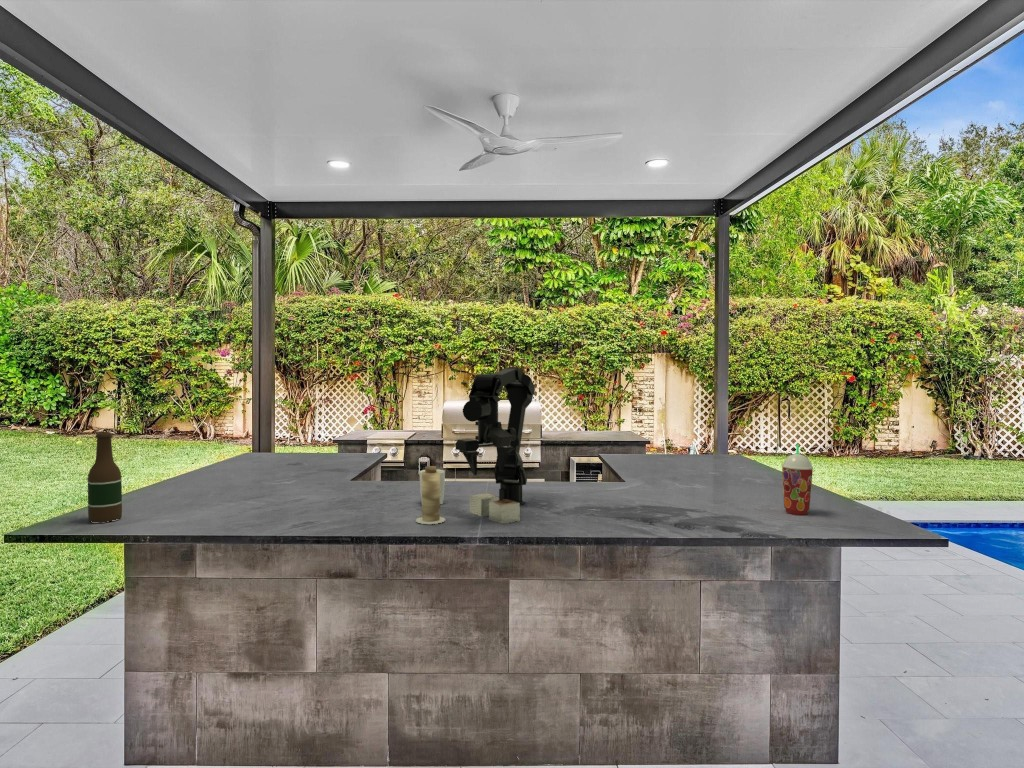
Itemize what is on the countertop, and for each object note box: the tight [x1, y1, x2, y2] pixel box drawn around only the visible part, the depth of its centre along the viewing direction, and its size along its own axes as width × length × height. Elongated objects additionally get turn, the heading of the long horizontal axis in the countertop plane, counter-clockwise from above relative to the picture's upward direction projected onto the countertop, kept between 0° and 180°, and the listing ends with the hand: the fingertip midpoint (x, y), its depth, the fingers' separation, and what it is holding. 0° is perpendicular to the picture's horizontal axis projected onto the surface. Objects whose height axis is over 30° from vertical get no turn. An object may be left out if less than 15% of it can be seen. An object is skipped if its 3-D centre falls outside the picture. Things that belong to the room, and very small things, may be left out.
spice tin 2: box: [488, 499, 521, 525], centre depth 172 cm, size 6×6×5 cm
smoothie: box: [781, 444, 814, 516], centre depth 182 cm, size 8×8×20 cm
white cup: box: [418, 468, 446, 505], centre depth 192 cm, size 8×8×10 cm
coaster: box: [415, 516, 446, 525], centre depth 170 cm, size 8×8×1 cm
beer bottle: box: [87, 431, 123, 522], centre depth 170 cm, size 8×8×24 cm
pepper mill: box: [421, 465, 441, 522], centre depth 170 cm, size 5×5×14 cm
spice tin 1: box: [469, 492, 499, 518], centre depth 180 cm, size 6×6×5 cm
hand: (488, 473), depth 177 cm, fingers open, 9 cm apart
